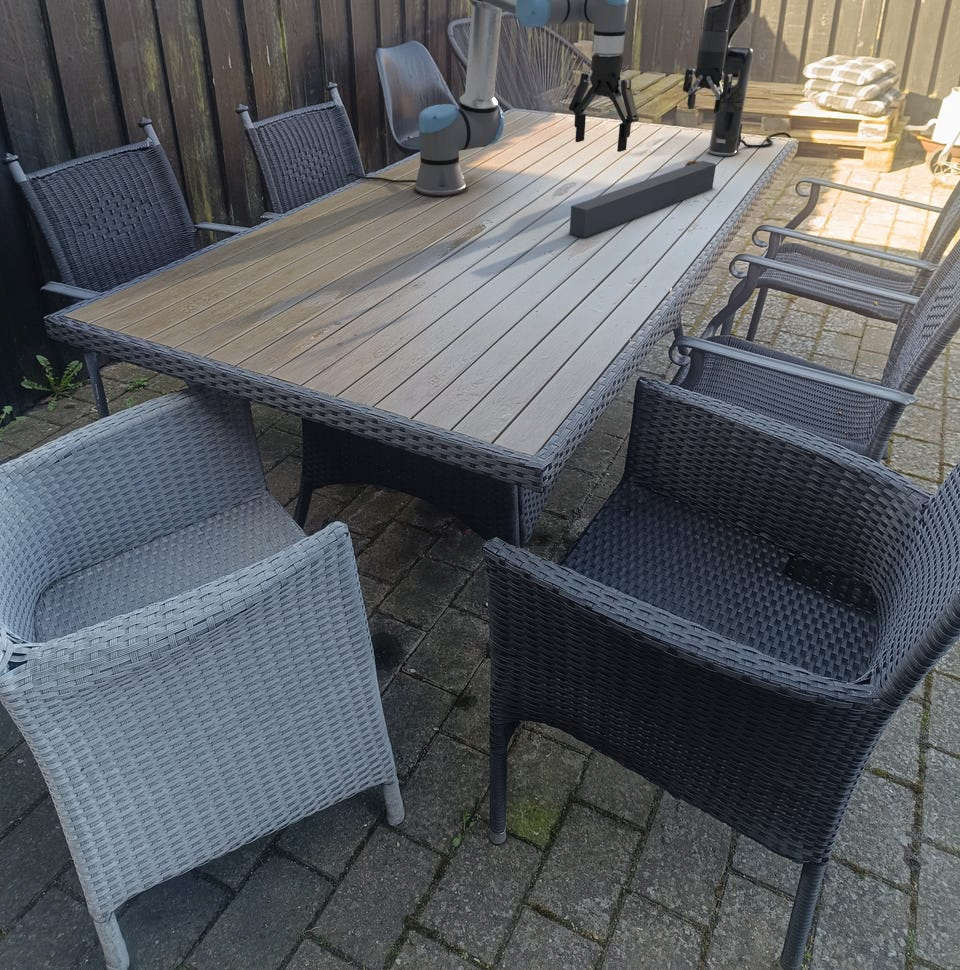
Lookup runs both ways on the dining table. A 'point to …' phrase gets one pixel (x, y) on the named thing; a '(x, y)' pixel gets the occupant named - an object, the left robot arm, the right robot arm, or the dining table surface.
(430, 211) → the dining table surface
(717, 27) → the right robot arm
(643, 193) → the beam
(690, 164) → the red lumpy piece
